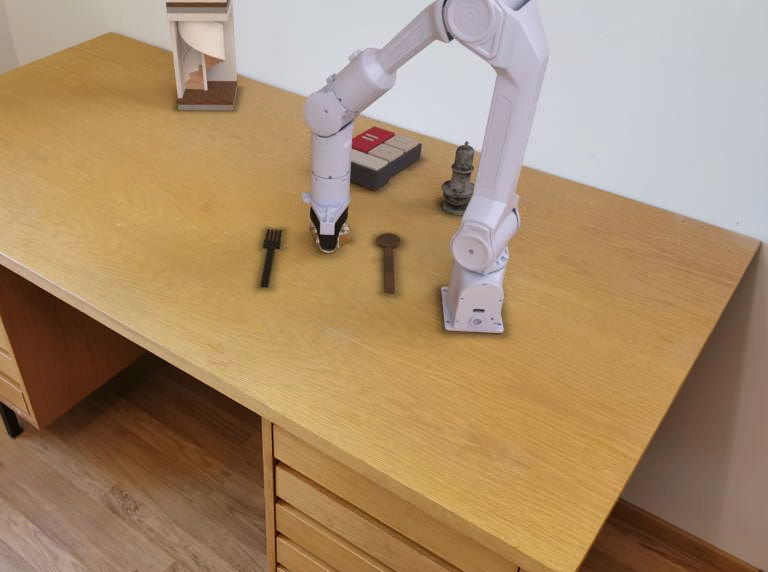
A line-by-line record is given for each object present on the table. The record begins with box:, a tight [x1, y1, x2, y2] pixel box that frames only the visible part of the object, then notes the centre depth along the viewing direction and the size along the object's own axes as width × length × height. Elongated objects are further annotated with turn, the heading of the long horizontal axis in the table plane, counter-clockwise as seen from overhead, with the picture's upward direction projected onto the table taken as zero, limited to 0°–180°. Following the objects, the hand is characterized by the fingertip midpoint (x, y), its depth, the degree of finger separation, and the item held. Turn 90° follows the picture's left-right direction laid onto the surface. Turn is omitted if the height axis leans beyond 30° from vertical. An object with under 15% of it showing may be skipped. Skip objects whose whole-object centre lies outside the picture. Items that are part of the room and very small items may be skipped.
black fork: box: [260, 228, 283, 289], centre depth 116 cm, size 15×3×1 cm, turn 175°
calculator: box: [350, 125, 423, 191], centre depth 135 cm, size 11×4×15 cm
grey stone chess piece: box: [440, 140, 475, 216], centre depth 122 cm, size 6×6×12 cm
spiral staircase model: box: [165, 0, 239, 111], centre depth 146 cm, size 11×11×35 cm
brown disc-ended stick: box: [377, 232, 401, 294], centre depth 115 cm, size 15×4×1 cm, turn 175°
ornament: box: [308, 221, 352, 254], centre depth 118 cm, size 8×7×4 cm
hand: (327, 248), depth 115 cm, fingers closed
